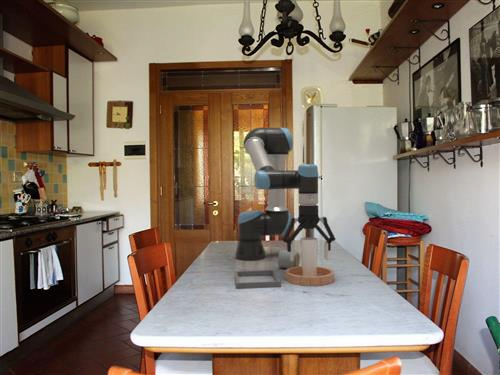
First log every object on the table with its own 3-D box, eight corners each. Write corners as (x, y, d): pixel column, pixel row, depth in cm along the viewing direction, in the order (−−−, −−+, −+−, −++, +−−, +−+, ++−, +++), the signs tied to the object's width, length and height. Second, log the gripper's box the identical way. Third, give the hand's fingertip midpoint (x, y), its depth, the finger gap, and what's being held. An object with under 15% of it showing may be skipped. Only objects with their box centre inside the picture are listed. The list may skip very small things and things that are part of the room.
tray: (234, 275, 150) (234, 271, 150) (274, 274, 151) (274, 270, 151) (236, 288, 132) (236, 283, 132) (281, 286, 133) (281, 281, 133)
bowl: (282, 274, 152) (282, 266, 152) (326, 272, 153) (326, 265, 153) (290, 286, 133) (290, 278, 133) (340, 284, 135) (340, 276, 135)
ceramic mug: (296, 270, 157) (295, 252, 157) (277, 269, 160) (277, 251, 160) (302, 265, 167) (302, 248, 167) (284, 264, 170) (284, 247, 170)
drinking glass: (299, 275, 146) (298, 237, 146) (316, 275, 147) (315, 237, 147) (302, 280, 140) (302, 240, 139) (320, 279, 140) (319, 239, 140)
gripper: (277, 206, 138) (278, 262, 139) (343, 204, 140) (343, 260, 141) (274, 204, 146) (275, 258, 146) (337, 203, 148) (337, 256, 148)
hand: (309, 259), depth 143 cm, fingers open, 13 cm apart
